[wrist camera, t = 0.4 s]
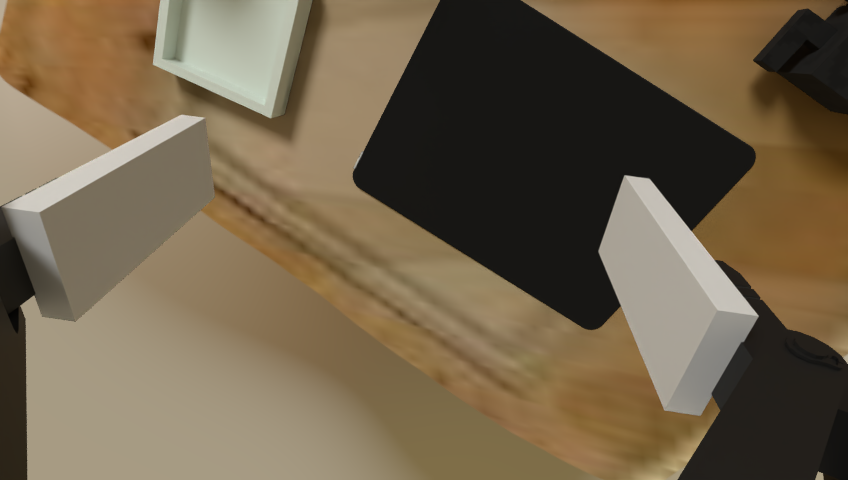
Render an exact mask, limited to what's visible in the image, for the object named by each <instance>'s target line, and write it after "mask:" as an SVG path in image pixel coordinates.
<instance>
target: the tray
mask: <svg viewBox="0 0 848 480" xmlns="http://www.w3.org/2000/svg"><path fill="white" fill-rule="evenodd" d="M312 1H313V0H160V7H159V16H158V25H157V34H156V42H155V51H154V60H153V65H155V66H157V67H160V68H162V69H164V70H166V71H168V72H170V73H173V74H175V75H177V76H179V77H181V78H184V79H186V80H188V81H190V82H192V83H195V84H197V85H199V86H201V87H203V88H205V89H208V90H210V91H212V92H214V93H216V94H219V95H221V96H223V97H225V98H227V99H230V100H232V101H234V102H236V103H238V104H240V105H243V106H245V107H247V108H249V109H251V110H254V111H256V112H258V113H260V114H262V115H265V116H267V117H269V118H274V117H278V116H281V115H284V114H285V110H286V106H287V102H288V98H289V94H290V90H291V86H292V82H293V78H294V74H295V70H296V66H297V62H298V58H299V54H300V50H301V46H302V41H303V37H304V33H305V29H306V25H307V21H308V17H309V13H310V9H311V5H312Z"/></svg>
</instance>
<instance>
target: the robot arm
mask: <svg viewBox="0 0 848 480" xmlns="http://www.w3.org/2000/svg"><path fill="white" fill-rule="evenodd" d="M214 198H215V194H214V186H213V177H212V169H211V161H210V153H209V145H208V137H207V129H206V121H205V118H202V117H194V116H187V115H180V116H178V117H176V118H174V119H172V120H170V121H168V122H166V123H164V124H162V125H160V126H158V127H156V128H154V129H153V130H151V131H149V132H147V133H145V134H143V135H141V136H139V137H137V138H135V139H133V140H131V141H129V142H127V143H125V144H123V145H121V146H119V147H117V148H115V149H113V150H112V151H110V152H108V153H106V154H104V155H102V156H100V157H98V158H96V159H94V160H92V161H90V162H88V163H86V164H84V165H82V166H80V167H78V168H77V169H74V170H73V171H71V172H69V173H67V174H65V175H63V176H61V177H59V178H55V179H53V180H52V181H49V182H47V183H46V184H44V185H42V186H40V187H39V188H37V189H34V190H32V191H30V192H28V193H26V194H25V195H24V196H20V197H18V198H16V199H14V200H12V201H10V202H8V203H6V204H4V205H2V206H0V480H27V418H26V417H27V414H26V331H25V330H26V329H25V328H26V325H25V317H24V314H23V312H22V309H21V307H20V305H22V304H23V303H24V302H25V301H27V300H28V299H30V298H31V297H32V296H35V298H36V301H37V304H38V306H39V309H40V312H41V314H42V317H49V318H55V319H62V320H68V321H75V322H76V321H77V320H78V319H79V318H80V317H81V316H82V315H83V314H85V312H87V311H88V310H89V309H90V308H91V307H92V306H94V304H96V303H97V302H98V301H99V300H100V299H101V298H102V297H103V296H105V295H106V294H107V293H108V292H109V291H110V290H111V289H113V288H114V287H115V286H116V285H117V284H118V283H119V282H120V281H122V280H123V279H124V278H125V277H126V276H127V275H128V274H129V273H131V272H132V271H133V270H134V269H135V268H136V267H137V266H138V265H140V264H141V263H142V262H143V261H144V260H145V259H146V258H147V257H148V256H149V255H151V254H152V253H153V252H154V251H155V250H156V249H157V248H159V247H160V246H161V245H162V244H163V243H164V242H165V241H166V240H168V239H169V238H170V237H171V236H172V235H173V234H174V233H175V232H177V231H178V230H179V229H180V228H181V227H182V226H183V225H184V224H185V223H187V222H188V221H189V220H190V219H191V218H192V217H193V216H194V215H196V214H197V213H198V212H199V211H200V210H201V209H202V208H203V207H205V206H206V205H207V204H208V203H209V202H210V201H211V200H212V199H214ZM598 252H599V254H600V257H601V259H602V262H603V264H604V266H605V269H606V271H607V274H608V276H609V278H610V281H611V283H612V286H613V288H614V290H615V293H616V295H617V298H618V300H619V302H620V305H621V307H622V310H623V312H624V314H625V317H626V319H627V321H628V324H629V326H630V329H631V331H632V333H633V336H634V338H635V341H636V343H637V345H638V348H639V350H640V353H641V355H642V357H643V360H644V362H645V365H646V367H647V369H648V372H649V374H650V377H651V379H652V381H653V384H654V386H655V389H656V391H657V393H658V396H659V398H660V401H661V403H662V405H663V408H664V410H665V411H672V412H679V413H685V414H692V415H699V416H700V415H701V414H702V412H703V410H704V409H705V407H706V405H707V404H708V402H709V400H710V398H711V397H712V396H713V398H714V399H715V401H716V403H717V405H718V407H719V409H720V410H721V411H720V412H719V414H718V416H717V417H716V419H715V420H714V422H713V424H712V425H711V427H710V428H709V430H708V432H707V433H706V435H705V436H704V438H703V440H702V441H701V443H700V444H699V446H698V448H697V449H696V451H695V452H694V454H693V456H692V457H691V459H690V460H689V462H688V464H687V465H686V467H685V469H684V470H683V472H682V473H681V475H680V477H679V479H678V480H815V478H816V475H817V472H818V471H819V472H821V473H823V476H824V480H848V364H847V363H846V361H845V360H844V359H843V357H842V356H841V355H840V354H839V353H837V352H836V351H835V350H833V349H832V348H831V347H830V346H828V345H826V344H825V343H823V342H821V341H819V340H817V339H816V338H814V337H811V336H809V335H806V334H803V333H801V332H797V331H792V330H788V329H786V327H785V326H784V325H783V324H782V323H781V321H780V320H779V319H778V318H777V317H776V316H775V314H774V313H773V312H772V311H771V310H770V308H769V307H768V306H767V305H766V304H765V302H764V301H763V300H760V297H759V295H758V294H757V293H756V292H755V291H754V289H751V286H750V285H749V284H748V282H747V281H746V280H745V279H744V278H743V276H742V275H741V274H740V273H739V272H737V271H736V270H734V269H733V268H731V267H730V266H729V265H727V264H726V263H724V262H723V261H718V260H714V259H713V258H712V257H711V255H710V254H709V253H708V252H707V250H706V249H705V248H704V247H703V245H702V244H701V243H700V242H699V240H698V239H697V238H696V237H695V235H694V234H693V233H692V232H691V230H690V229H689V228H688V227H687V225H686V224H685V223H684V221H683V220H682V219H681V218H680V216H679V215H678V214H677V213H676V211H675V210H674V209H673V208H672V206H671V205H670V204H669V203H668V201H667V200H666V199H665V198H664V196H663V195H662V194H661V193H660V191H659V190H658V189H657V188H656V186H655V185H654V184H653V182H652V181H651V180H650V179H648V178H640V177H633V176H626V175H624V178H623V181H622V184H621V187H620V190H619V193H618V195H617V198H616V201H615V204H614V207H613V210H612V213H611V216H610V219H609V222H608V225H607V228H606V231H605V233H604V236H603V239H602V242H601V245H600V248H599V251H598Z"/></svg>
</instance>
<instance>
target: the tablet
mask: <svg viewBox="0 0 848 480" xmlns="http://www.w3.org/2000/svg"><path fill="white" fill-rule="evenodd" d="M755 158H756V154H755V151H754V149H753V148H752V147H751V146H750V145H748V144H746V143H745V142H743V141H742V140H740V139H739V138H737V137H735V136H734V135H732V134H731V133H729V132H727V131H726V130H724V129H723V128H721V127H720V126H718V125H716V124H715V123H713V122H712V121H710V120H709V119H707V118H705V117H704V116H702V115H701V114H699V113H698V112H696V111H694V110H693V109H691V108H690V107H688V106H687V105H685V104H683V103H682V102H680V101H679V100H677V99H675V98H674V97H672V96H671V95H669V94H668V93H666V92H664V91H663V90H661V89H660V88H658V87H657V86H655V85H653V84H652V83H650V82H649V81H647V80H646V79H644V78H642V77H641V76H639V75H638V74H636V73H635V72H633V71H631V70H630V69H628V68H627V67H625V66H624V65H622V64H620V63H619V62H617V61H616V60H614V59H612V58H611V57H609V56H608V55H606V54H605V53H603V52H601V51H600V50H598V49H597V48H595V47H594V46H592V45H590V44H589V43H587V42H586V41H584V40H583V39H581V38H579V37H578V36H576V35H575V34H573V33H572V32H570V31H568V30H567V29H565V28H564V27H562V26H560V25H559V24H557V23H556V22H554V21H553V20H551V19H549V18H548V17H546V16H545V15H543V14H542V13H540V12H538V11H537V10H535V9H534V8H532V7H531V6H529V5H527V4H526V3H524V2H523V1H521V0H440V2H439V4H438V6H437V8H436V10H435V12H434V14H433V16H432V18H431V19H430V21H429V23H428V25H427V27H426V29H425V31H424V33H423V35H422V37H421V39H420V41H419V43H418V45H417V47H416V49H415V51H414V53H413V55H412V57H411V59H410V61H409V63H408V65H407V67H406V69H405V71H404V73H403V75H402V77H401V79H400V81H399V83H398V85H397V86H396V88H395V90H394V92H393V94H392V96H391V98H390V100H389V102H388V104H387V106H386V108H385V110H384V112H383V114H382V116H381V118H380V120H379V122H378V124H377V126H376V128H375V130H374V132H373V134H372V136H371V138H370V140H369V142H368V144H367V146H366V148H365V150H364V152H361V154H360V156H359V158H358V160H357V162H356V164H355V166H354V168H353V169H354V171H353V180H354V183H355V184H356V186H357V187H359V188H360V189H362V190H363V191H365V192H366V193H368V194H370V195H371V196H373V197H374V198H376V199H378V200H379V201H381V202H382V203H384V204H386V205H387V206H389V207H391V208H392V209H394V210H395V211H397V212H399V213H400V214H402V215H403V216H405V217H407V218H408V219H410V220H411V221H413V222H415V223H416V224H418V225H419V226H421V227H423V228H424V229H426V230H427V231H429V232H431V233H432V234H434V235H435V236H437V237H439V238H440V239H442V240H443V241H445V242H447V243H448V244H450V245H451V246H453V247H455V248H456V249H458V250H459V251H461V252H463V253H464V254H466V255H467V256H469V257H471V258H472V259H474V260H476V261H477V262H479V263H480V264H482V265H484V266H485V267H487V268H488V269H490V270H492V271H493V272H495V273H496V274H498V275H500V276H501V277H503V278H504V279H506V280H508V281H509V282H511V283H512V284H514V285H516V286H517V287H519V288H520V289H522V290H524V291H525V292H527V293H528V294H530V295H532V296H533V297H535V298H536V299H538V300H540V301H541V302H543V303H544V304H546V305H548V306H549V307H551V308H552V309H554V310H556V311H557V312H559V313H561V314H562V315H564V316H565V317H567V318H569V319H570V320H572V321H573V322H575V323H577V324H578V325H580V326H581V327H583V328H585V329H590V330H593V329H597V328H599V327H601V326H602V325H603V324H604V323H605V322H606V321H607V320H608V319H609V317H610V316H611V315H612V314H613V313H614V312H615V311H616V310H617V309H618V308H619V307H620V306H621V305H620V302H619V300H618V298H617V295H616V293H615V290H614V288H613V286H612V283H611V281H610V278H609V276H608V274H607V271H606V269H605V266H604V264H603V262H602V259H601V257H600V254H599V252H598V251H599V248H600V245H601V242H602V239H603V236H604V233H605V231H606V228H607V225H608V222H609V219H610V216H611V213H612V210H613V207H614V204H615V201H616V198H617V195H618V193H619V190H620V187H621V184H622V181H623V178H624V175H626V176H633V177H640V178H648V179H650V180H651V181H652V182H653V184H654V185H655V186H656V188H657V189H658V190H659V191H660V193H661V194H662V195H663V196H664V198H665V199H666V200H667V201H668V203H669V204H670V205H671V206H672V208H673V209H674V210H675V211H676V213H677V214H678V215H679V216H680V218H681V219H682V220H683V221H684V223H685V224H686V225H687V227H688V228H689V229H690V230H691V231H692V230H693V229H694V227H695V226H696V225H697V224H698V223H699V222H700V221H701V220H702V219H703V218H704V217H705V216H706V215H707V214H708V213H709V212H710V211H711V209H712V208H713V207H714V206H715V205H716V204H717V203H718V202H719V201H720V200H721V199H722V198H723V197H724V196H725V195H726V194H727V193H728V191H729V190H730V189H731V188H732V187H733V186H734V185H735V184H736V183H737V182H738V181H739V180H740V179H741V178H742V177H743V176H744V175H745V173H746V172H747V171H748V170H749V169H750V168H751V167H752V166H753V164H754V162H755Z"/></svg>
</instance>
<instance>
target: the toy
mask: <svg viewBox="0 0 848 480" xmlns="http://www.w3.org/2000/svg"><path fill="white" fill-rule="evenodd" d="M845 1H847V2H848V0H845ZM802 44H803V45H802ZM801 45H802V46H801ZM800 46H801V47H800ZM799 47H800V48H799ZM753 61H754V62H756V63H757V64H758V65H760V66H761V67H763V68H764V69H765V70H767V71H769V72H777V73H778V74H780V75H781V76H782V77H784V78H785V79H787V80H788V81H789V82H791V83H792V84H794V85H795V86H796V87H798V88H799V89H801V90H802V91H803V92H805V93H806V94H807V95H809V96H810V97H812V98H813V99H814V100H816V101H817V102H819V103H820V104H821V105H823V106H824V107H825V108H827V109H828V110H830V111H833V112H838V113H843V114H848V4H847V5H846V6H841V7H839V8H837V9H836V10H835V11H834V12H833V13H832V14H831V15H830V16H829V17H828V18H827V19H826V20H825V21H824V20H823V19H822V18H820V17H819V16H818V15H816V14H815V13H813V12H812V11H811V10H809V9H803V10H798V11H797V12H796V13H795V14H794V15H793V16H792V17H791V18H790V20H789V21H788V22H787V23H786V24H785V25H784V26H783V27H782V28H781V30H780V31H779V32H778V33H777V34H776V35H775V36H774V37H773V39H772V40H771V41H770V42H769V43H768V44H767V45H766V46H765V47H764V49H763V50H762V51H761V52H760V53H759V54H758V55H757V56H756V57H755V59H754V60H753Z"/></svg>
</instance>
